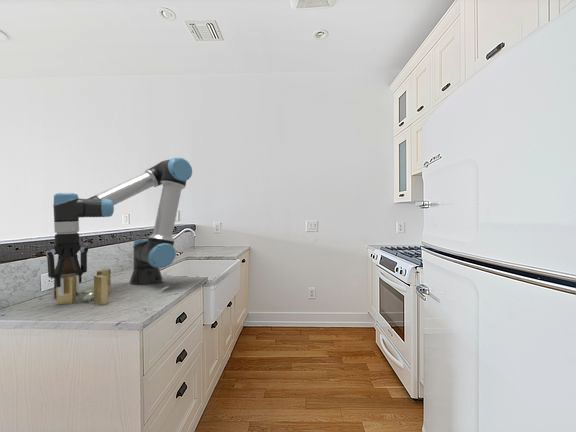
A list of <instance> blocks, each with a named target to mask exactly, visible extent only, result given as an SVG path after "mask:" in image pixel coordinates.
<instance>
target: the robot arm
mask: <svg viewBox="0 0 576 432" xmlns="http://www.w3.org/2000/svg"><path fill="white" fill-rule="evenodd" d="M192 175H193V168H192V165H191V164H190V162H189V161H188V160H186V159H185V158H182V157H173V158H170V159H165V160H163V161H160V162H158V163H157V164H155V165H153V166H151V167H150V168H148V169H145V170H144V172H143V173H141V174H140V175H137V176H135V177H133V178H130V179H128V180H126V181H124V182H122V183H119V184H117V185H115V186H113V187H110V188H109V189H106V190H104V191H102V192H100V193H98V194H94V196H91V197H89V198H79V195H78V193H74V192H73V193H72V192H62V193H61V192H59V193H55V194H54V195H53V205H52V206H53V220H54V221H53V223H54V225H53V227H54V233H55V235H54V247H53V249H51V250H49V251H45V252H44V254H45V256H46V258H47V259H46V261H47V276H48V278H51V279H53V280H54V279H55V286H56V287H58V295H60V296H63V295H64V280H63V278H61V275H62V270H63V266H64V262H65V260H66V258H67V257H70V258H71V260H72V263H73V267H74V270H75V273H76V292H78V293H80V284H81V283H82V276H83V274H84V273H87V272H88V252H89V248H88V247H84V246H81V244H80V234H79V232H80V220H79V219H80V218H108V217H109V218H110V217H112V216H113V215H114V211H115V208H114V206H115V205H117V204H119V203H122V202H123V201H125V200H128V199H129V198H132V197H134V196H135V195H138V194H140V193H142V192H144V191H146V190H149V189H151V188H152V187H154V188H157V187H158V186H161V185H162V188H161V194H160V199H159V203H158V208H157V212H156V213H157V214H156V217H155V221H154V228H153V232H152V234H151V235H149V236H148V238H141V239H135V240H134V241H133V246H132V248H133V271H132V273H131V276H130V279H129V284H130V285H133V286H149V285H155V284H163V283H162V282H163V275H162V273H161V272H162V271H161V270H160V269H163V268H167V267H169V266H170V265H171V264H172V263H174V260H175V258H176V256H177V255H176V254H177V252H176V249H175V247H174V244H175V239H173V233H174V228H175V223H176V218H177V213H178V208H179V204H180V197H181V193H182V190H183V189H185V188H186V186H187V181H189V180H190V179H191V177H192ZM79 252H80V262H79V260H78V259H79V258H78V253H79ZM56 254H57V255H58V256H57V262H56V263H57V264H56V265H55V257H54V256H55V255H56ZM56 266H57V267H56ZM55 268H56V271H55Z"/></svg>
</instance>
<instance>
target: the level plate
mask: <svg viewBox="0 0 576 432" xmlns="http://www.w3.org/2000/svg"><path fill="white" fill-rule="evenodd" d="M80 303H84V304H89V303H94V288H93V289H86V290H84V291H82V292H80Z"/></svg>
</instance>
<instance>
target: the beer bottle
mask: <svg viewBox="0 0 576 432" xmlns="http://www.w3.org/2000/svg"><path fill="white" fill-rule="evenodd" d="M56 267H57V265H55V271H56ZM62 275H76V273H75V270H74V267H73V263H72V260H71V258H70V257H67V258H66V260H65V262H64V266H63V270H62ZM53 281H54V282H53V287H54V288H53V289H54V291H53V297H54V298H55V299H56V286H55V279H54V278H53ZM78 293H79V292H76V296H78Z"/></svg>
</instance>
